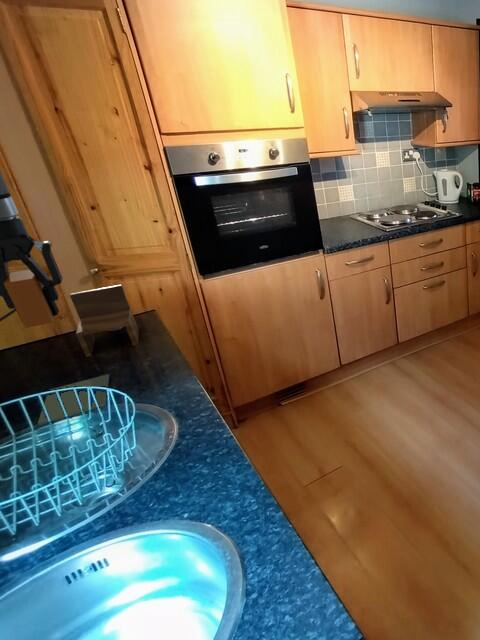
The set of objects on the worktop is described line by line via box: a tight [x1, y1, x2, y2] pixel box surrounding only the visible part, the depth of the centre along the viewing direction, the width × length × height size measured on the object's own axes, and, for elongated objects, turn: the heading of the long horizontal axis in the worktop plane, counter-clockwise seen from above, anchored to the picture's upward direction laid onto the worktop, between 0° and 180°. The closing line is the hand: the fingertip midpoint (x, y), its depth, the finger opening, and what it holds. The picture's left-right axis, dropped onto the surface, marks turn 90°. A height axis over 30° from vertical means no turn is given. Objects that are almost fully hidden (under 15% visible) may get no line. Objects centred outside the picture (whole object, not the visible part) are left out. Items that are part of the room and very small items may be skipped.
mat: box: [37, 374, 110, 426], centre depth 113 cm, size 16×12×1 cm
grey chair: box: [69, 283, 139, 358], centre depth 136 cm, size 12×12×16 cm
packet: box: [4, 269, 56, 329], centre depth 103 cm, size 8×4×11 cm, turn 37°
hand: (40, 316), depth 105 cm, fingers closed on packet, 4 cm apart
